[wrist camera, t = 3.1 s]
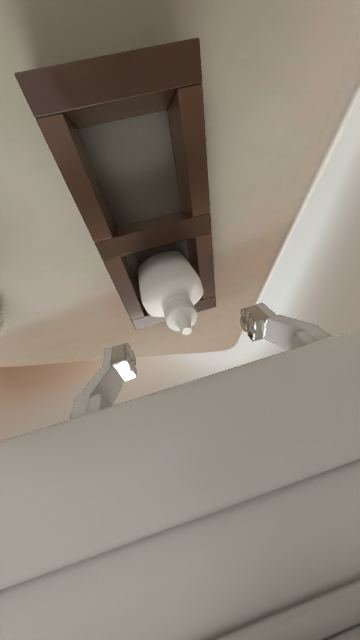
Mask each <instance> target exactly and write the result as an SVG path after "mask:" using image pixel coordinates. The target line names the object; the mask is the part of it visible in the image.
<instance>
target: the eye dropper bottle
mask: <svg viewBox="0 0 360 640" xmlns="http://www.w3.org/2000/svg"><path fill="white" fill-rule="evenodd" d="M138 277H139V286H140V294H141V301H142V304H143V306H144V308H145V309H146V311H147V313H148V314H149V315H150V316H154V317H165V320H166V323H167V325H168V327H169V328H171V329H172V330H175V331H181V332H182V334H183V335H189V334H190V333H191V332H192V326H193V325H194V324H195V322H196V321H197V311H196V309H195V307H194V306H193V305H195V304H196V303H197V302H198V301H199V300H200V299H201V297H202V296H203V287H202V283H201V280H200V278H199V276H198V275H197V273H196V272H195V270H194V269H193V268H192V266H191V265H190V264H189V262H188V261H187V260H186V258H185V257H184V256H183V254H182V253H181V252H179V251H166V252H162V253H158V254H156V255H154V256H152V257H150V258H149V259H147V260H146V261H145V262H143V263H142V264H141V265H140V267H139V269H138Z"/></svg>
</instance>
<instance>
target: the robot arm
mask: <svg viewBox="0 0 360 640" xmlns="http://www.w3.org/2000/svg"><path fill="white" fill-rule="evenodd" d="M240 314H241V315H242V317H241V318H240V323H241V327H242V328H243V330H244V331H246V332H248V336H249V337H250V339H251V340H252V341H256V340H260V339H263V338H264V339H266V340H268V341H270V342H272V343H274V344H276V345H278V346H280V347H282V348H284V349H286V350H288V351H285V352H282V353H279V354H276V355H273V356H269V357H266V358H263V359H260V360H257V361H254V362H250V363H247V364H244V365H241V366H238V367H234V368H231V369H228V370H225V371H222V372H219V373H216V374H212V375H209V376H206V377H203V378H200V379H197V380H193V381H191V382H187V383H184V384H181V385H178V386H174V387H171V388H168V389H165V390H162V391H159V392H155V393H152V394H149V395H146V396H143V397H140V398H137V399H133V400H130V401H127V402H124V403H121V404H118V405H114V406H112V405H113V403H114V401H115V399H116V398H117V396H118V394H119V392H120V390H121V388H122V386H123V384H124V381H127V380H130V379H133V378H136V377H137V375H136V368H135V365H136V358H135V355H134V352H133V351H132V350H130V345H129V343H126V344H122V345H118V346H114V347H111V348H108V349H106V350H105V352H104V358H103V365H102V368H101V369H99V370H98V372H97V373H96V374H95V375H94V377H93V378H92V379H91V381H90V382H89V383H88V384H87V386H86V387H85V388H84V389H83V390H82V392H81V393H80V394H79V395H78V397H77V398H76V399H75V400H74V404H73V407H72V411H71V415H70V419H69V420H67V421H64V422H61V423H58V424H54V425H51V426H48V427H45V428H42V429H39V430H36V431H33V432H29V433H26V434H23V435H20V436H16V437H13V438H10V439H6V440H3V441H0V640H360V328H358V329H355V330H351V331H348V332H346V333H342V334H339V335H336V336H333V337H332V336H331V335H330V334H328V333H327V332H326V331H324V330H323V329H321V328H320V327H319V326H317V325H314V324H311V323H307V322H303V321H300V320H296V319H293V318H289V317H285V316H282V315H276V314H275V313H274V312H273V311H272V310H270V309H269V308H268V307H267V306H266V305H265V304H263V303H260V304H257V305H254V306H250V307H247V308H244V309H241V313H240Z"/></svg>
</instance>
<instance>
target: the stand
mask: <svg viewBox="0 0 360 640" xmlns="http://www.w3.org/2000/svg"><path fill="white" fill-rule="evenodd" d="M15 77H16V79H17V81H18V83H19V85H20V87H21V89H22V91H23V93H24V96H25V98H26V100H27V102H28V104H29V106H30V108H31V110H32V112H33V115H34V117H35V118H36V121H37V123H38V125H39V127H40V129H41V131H42V133H43V135H44V138H45V140H46V142H47V144H48V146H49V148H50V150H51V152H52V154H53V157H54V159H55V161H56V163H57V165H58V167H59V169H60V171H61V173H62V175H63V178H64V180H65V182H66V184H67V186H68V188H69V190H70V192H71V194H72V196H73V199H74V201H75V203H76V205H77V207H78V209H79V211H80V213H81V215H82V217H83V220H84V222H85V224H86V226H87V228H88V230H89V232H90V234H91V236H92V239H93V241H94V242H95V245H96V247H97V249H98V251H99V253H100V255H101V258H102V260H103V262H104V264H105V266H106V268H107V270H108V272H109V274H110V277H111V279H112V281H113V283H114V285H115V287H116V289H117V291H118V293H119V295H120V298H121V300H122V302H123V304H124V306H125V308H126V310H127V312H128V314H129V316H130V319H131V321H132V323H133V325H134V327H135V329H136V330H138V329H141V328H145V327H148V326H152V325H155V324H159V323H162V322H165V321H166V320H165V317H154V316H150V315H149V314H148V313H147V311H146V309H145V308H144V306H143V304H142V301H141V294H140V291H139V288H138V285H137V283H136V280H135V277H134V275H133V272H132V270H131V267H130V264H129V262H128V259H127V257H126V255H128V254H132V253H136V252H140V251H143V250H147V249H151V248H155V247H158V246H162V245H166V244H170V243H174V242H177V241H181V240H185V239H186V240H187V247H188V253H189V260H190V265H191V266H192V268H193V269H194V270H195V272H196V273H197V275H198V276H199V278H200V280H201V283H202V287H203V296H202V297H201V299H200V300H199V301H198V302H197V303H196V304H195V305H193V306H194V307H195V309H196V311H197V312H200V311H203V310H206V309H210V308H213V307H216V297H215V282H214V266H213V250H212V234H211V217H210V202H209V186H208V170H207V154H206V138H205V122H204V106H203V91H202V84H201V83H202V74H201V58H200V42H199V38H193V39H188V40H183V41H178V42H173V43H167V44H162V45H157V46H152V47H147V48H142V49H136V50H131V51H126V52H121V53H116V54H111V55H105V56H100V57H95V58H90V59H85V60H80V61H75V62H69V63H64V64H59V65H54V66H49V67H44V68H38V69H33V70H28V71H23V72H18V73H15ZM165 109H167V114H168V120H169V127H170V134H171V140H172V147H173V154H174V160H175V167H176V174H177V180H178V187H179V193H180V200H181V207H182V211H183V212H179V213H175V214H171V215H168V216H164V217H160V218H156V219H152V220H148V221H144V222H140V223H136V224H132V225H128V226H124V227H121V228H117V229H116V228H115V225H114V223H113V220H112V217H111V215H110V212H109V209H108V207H107V204H106V202H105V199H104V196H103V194H102V191H101V189H100V186H99V183H98V181H97V178H96V175H95V173H94V170H93V168H92V165H91V162H90V160H89V157H88V155H87V152H86V149H85V147H84V144H83V141H82V139H81V136H80V134H79V131H78V128H82V127H87V126H92V125H96V124H101V123H105V122H110V121H115V120H119V119H124V118H128V117H133V116H138V115H142V114H147V113H151V112H156V111H161V110H165Z"/></svg>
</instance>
